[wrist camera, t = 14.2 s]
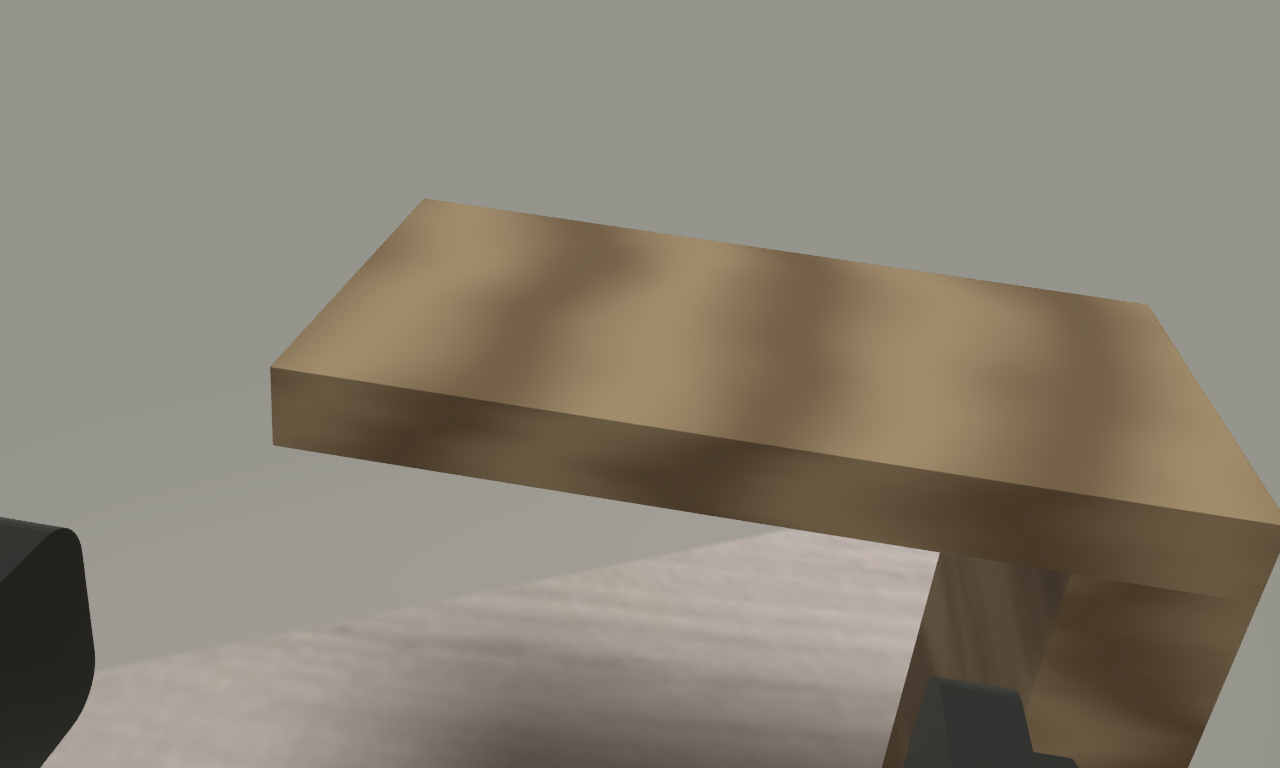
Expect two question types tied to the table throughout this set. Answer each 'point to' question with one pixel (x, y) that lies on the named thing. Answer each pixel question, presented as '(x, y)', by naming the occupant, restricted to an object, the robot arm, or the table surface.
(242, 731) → the table surface
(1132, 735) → the shelf
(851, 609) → the table surface
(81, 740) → the table surface
